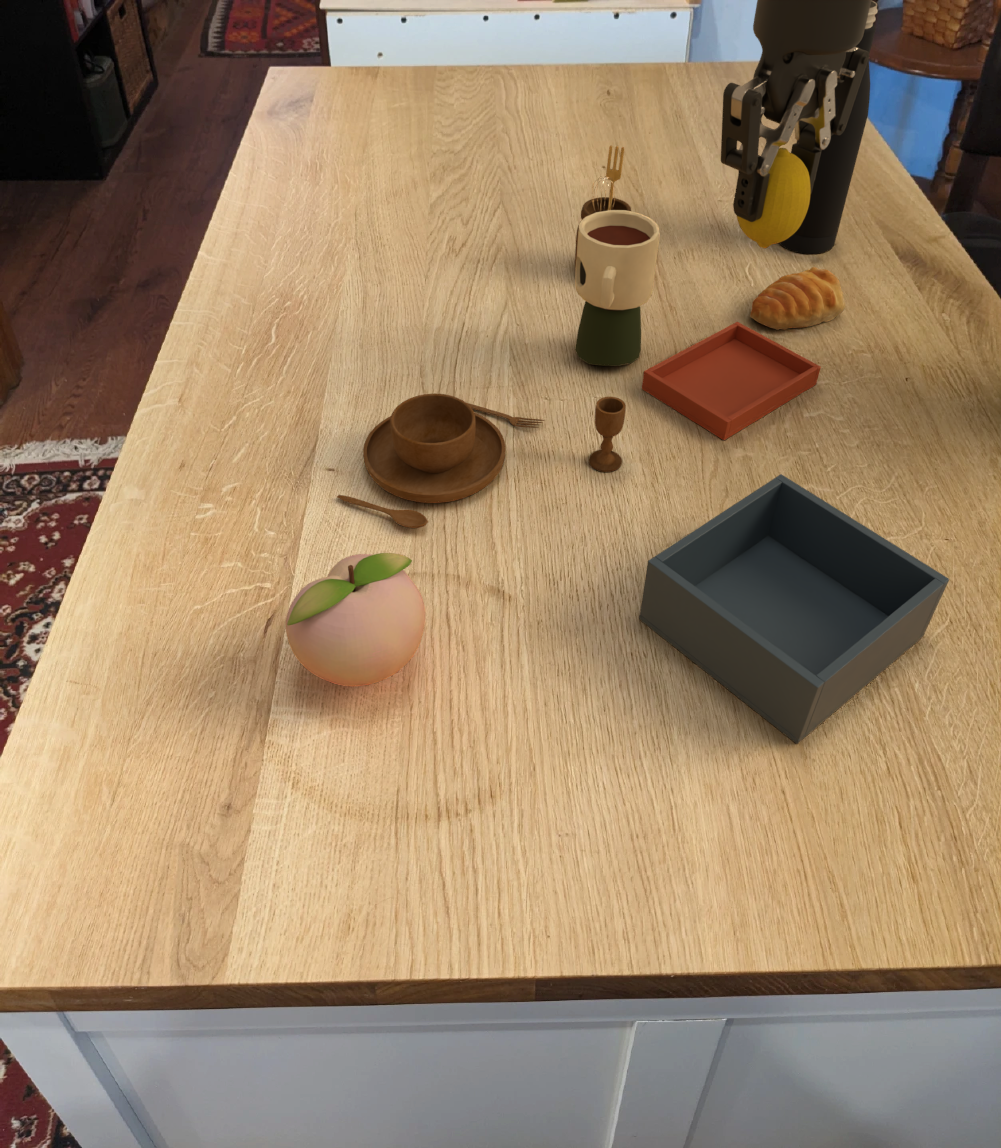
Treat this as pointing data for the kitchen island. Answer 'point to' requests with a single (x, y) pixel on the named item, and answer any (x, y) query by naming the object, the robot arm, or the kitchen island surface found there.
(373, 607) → the decorative fruit
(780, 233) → the lemon
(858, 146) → the black water bottle
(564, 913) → the kitchen island surface
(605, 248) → the character mug
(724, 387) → the tray
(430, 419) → the place setting
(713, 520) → the bin
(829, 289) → the pastry
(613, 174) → the utensil holder
